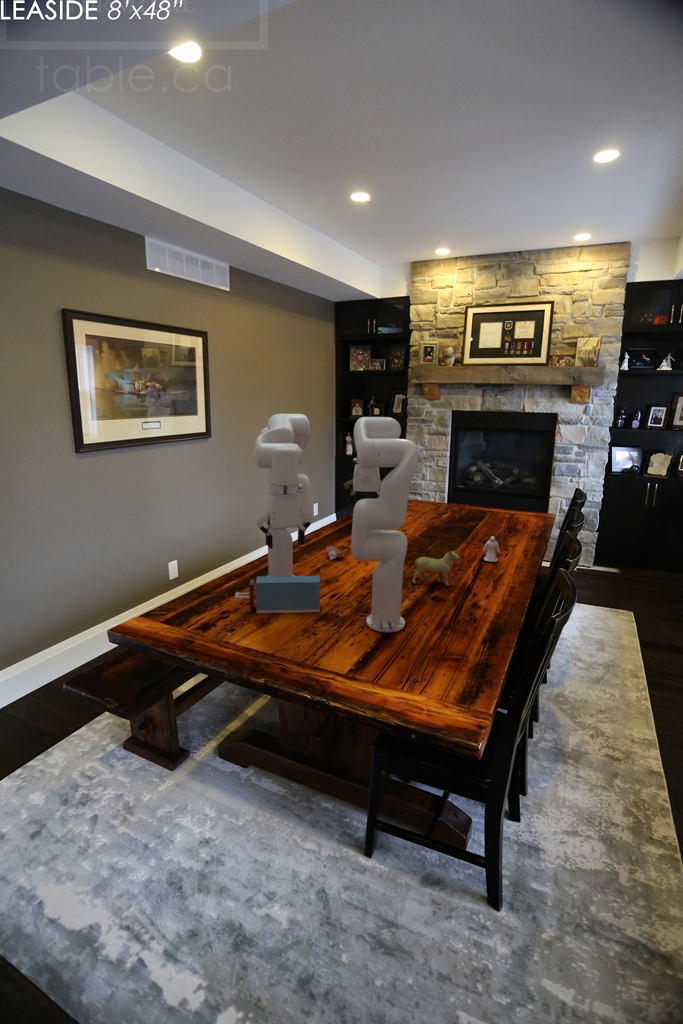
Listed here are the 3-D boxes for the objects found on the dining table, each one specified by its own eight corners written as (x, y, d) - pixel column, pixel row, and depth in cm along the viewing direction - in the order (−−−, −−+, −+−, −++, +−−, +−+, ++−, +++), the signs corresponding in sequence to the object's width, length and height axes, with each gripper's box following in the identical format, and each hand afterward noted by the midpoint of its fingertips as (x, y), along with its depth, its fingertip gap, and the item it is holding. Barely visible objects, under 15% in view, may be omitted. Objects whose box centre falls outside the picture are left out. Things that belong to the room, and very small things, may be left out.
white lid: (330, 566, 224) (319, 552, 223) (336, 559, 227) (325, 546, 227) (340, 561, 218) (328, 547, 217) (346, 554, 221) (335, 540, 220)
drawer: (234, 610, 169) (233, 584, 166) (236, 604, 173) (235, 579, 171) (310, 609, 171) (310, 583, 168) (310, 603, 175) (310, 578, 173)
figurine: (481, 562, 222) (483, 536, 219) (482, 556, 230) (484, 531, 227) (499, 564, 220) (501, 538, 217) (499, 558, 228) (501, 533, 225)
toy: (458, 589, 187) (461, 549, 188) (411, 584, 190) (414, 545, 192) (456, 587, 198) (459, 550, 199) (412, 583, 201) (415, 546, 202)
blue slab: (256, 613, 169) (255, 582, 166) (257, 605, 174) (257, 576, 172) (319, 612, 170) (319, 582, 168) (319, 604, 176) (319, 575, 173)
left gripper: (308, 485, 152) (307, 538, 157) (252, 489, 145) (253, 545, 149) (317, 489, 146) (316, 545, 150) (259, 494, 139) (260, 552, 143)
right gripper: (344, 462, 189) (343, 506, 193) (390, 463, 188) (388, 508, 192) (344, 459, 196) (344, 502, 200) (389, 461, 195) (387, 503, 199)
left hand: (285, 545), depth 150 cm, fingers open, 9 cm apart
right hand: (365, 505), depth 196 cm, fingers open, 9 cm apart
